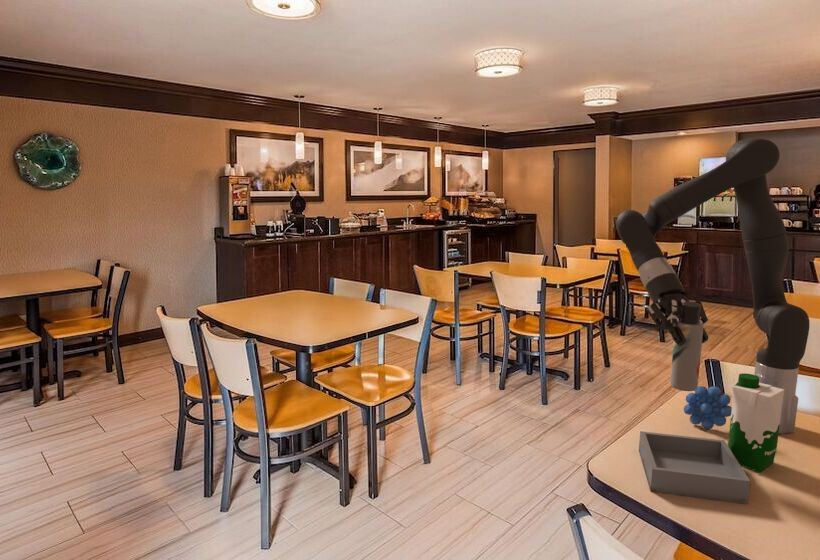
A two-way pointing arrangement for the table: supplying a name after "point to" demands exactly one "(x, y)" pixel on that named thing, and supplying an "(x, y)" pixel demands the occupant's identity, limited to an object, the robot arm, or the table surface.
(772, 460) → the milk carton
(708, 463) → the bin
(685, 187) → the robot arm
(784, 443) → the table surface
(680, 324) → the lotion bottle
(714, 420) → the grapes
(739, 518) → the table surface
